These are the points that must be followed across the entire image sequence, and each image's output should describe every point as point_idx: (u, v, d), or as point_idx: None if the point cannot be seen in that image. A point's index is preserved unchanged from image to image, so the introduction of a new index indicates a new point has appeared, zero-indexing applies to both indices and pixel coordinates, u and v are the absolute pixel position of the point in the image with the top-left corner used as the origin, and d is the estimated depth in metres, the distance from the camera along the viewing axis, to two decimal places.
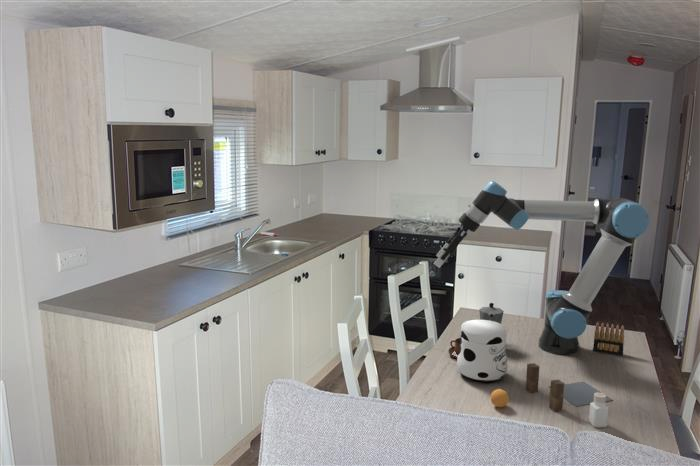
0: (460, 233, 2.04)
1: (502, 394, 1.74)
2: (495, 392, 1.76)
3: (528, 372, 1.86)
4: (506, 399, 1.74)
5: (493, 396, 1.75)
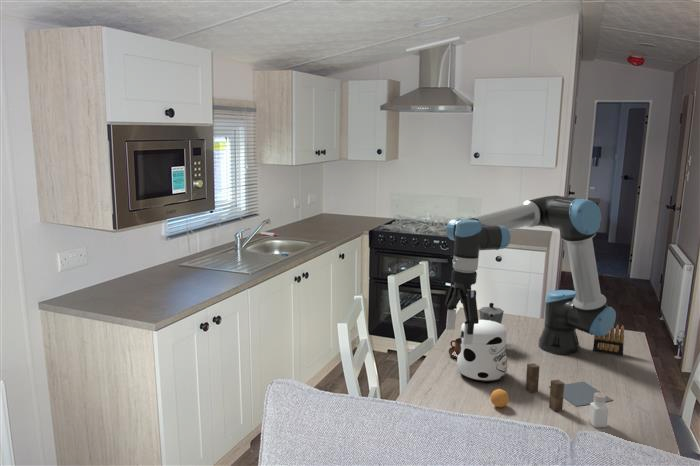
0: (470, 295, 1.67)
1: (502, 394, 1.74)
2: (495, 392, 1.76)
3: (528, 372, 1.86)
4: (506, 399, 1.74)
5: (493, 396, 1.75)
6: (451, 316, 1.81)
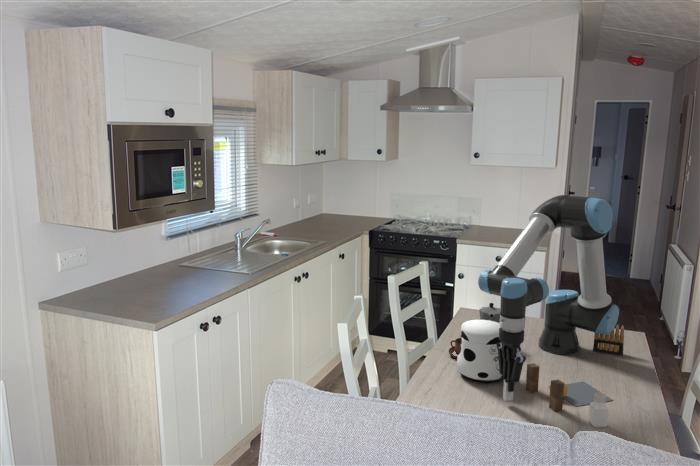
0: (518, 362, 1.69)
1: (566, 387, 1.81)
2: None
3: (528, 372, 1.86)
4: (565, 393, 1.81)
5: None
6: None
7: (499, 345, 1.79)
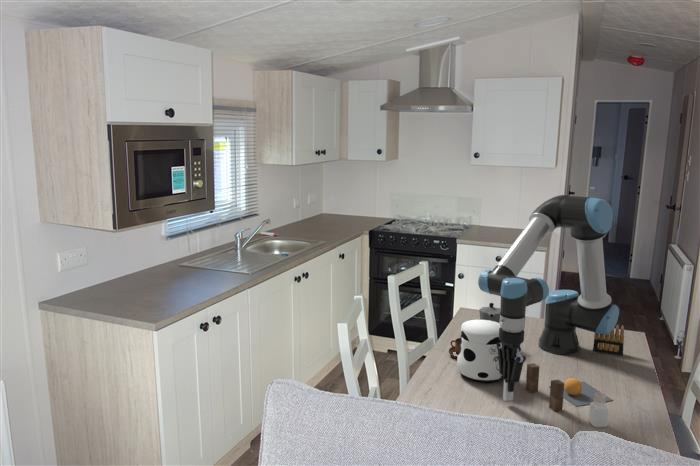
0: (518, 362, 1.69)
1: None
2: None
3: (528, 372, 1.86)
4: (575, 392, 1.82)
5: None
6: None
7: (499, 345, 1.79)
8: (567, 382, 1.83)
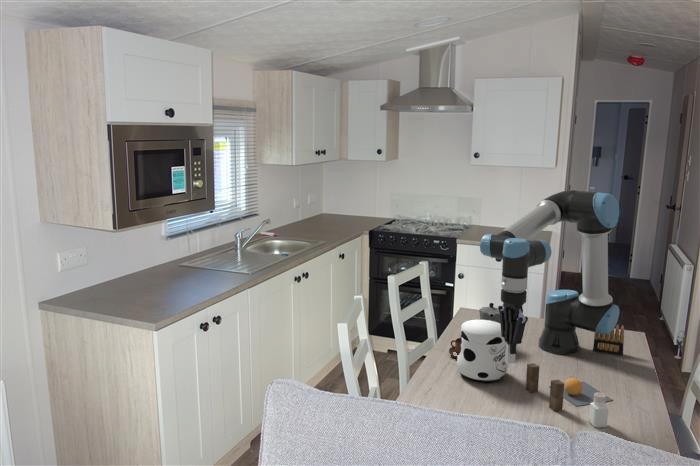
0: (521, 322, 1.67)
1: None
2: None
3: (528, 372, 1.86)
4: (575, 392, 1.82)
5: None
6: None
7: (501, 307, 1.77)
8: (567, 382, 1.83)
